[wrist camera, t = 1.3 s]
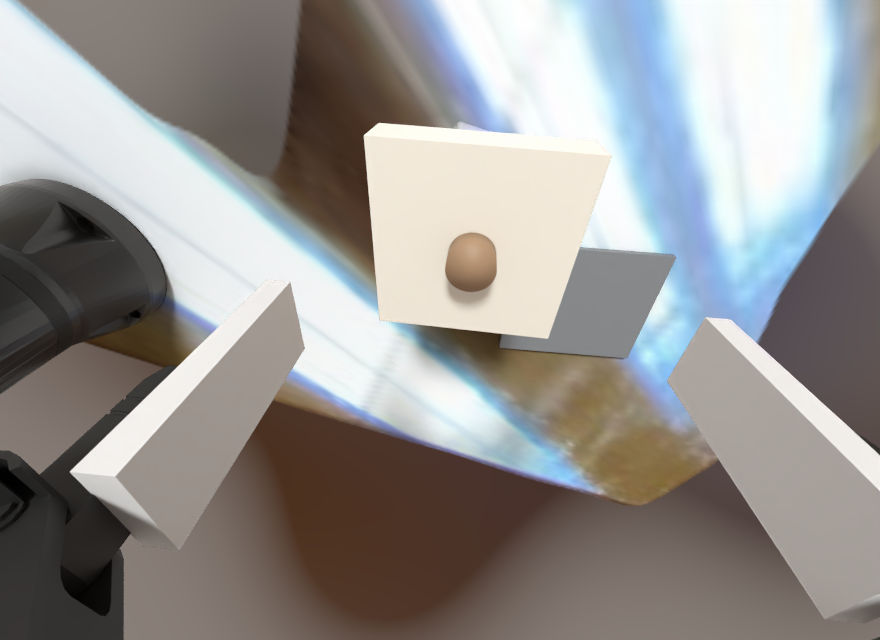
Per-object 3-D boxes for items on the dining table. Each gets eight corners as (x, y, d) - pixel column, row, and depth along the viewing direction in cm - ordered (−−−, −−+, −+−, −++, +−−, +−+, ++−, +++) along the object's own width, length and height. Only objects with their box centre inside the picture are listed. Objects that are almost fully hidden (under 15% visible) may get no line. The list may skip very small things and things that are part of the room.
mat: (499, 344, 38) (499, 347, 38) (519, 242, 32) (520, 245, 31) (625, 354, 38) (627, 358, 38) (673, 254, 31) (676, 257, 31)
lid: (388, 295, 22) (373, 337, 19) (378, 123, 16) (352, 144, 13) (542, 312, 22) (551, 357, 19) (596, 140, 15) (622, 167, 12)
